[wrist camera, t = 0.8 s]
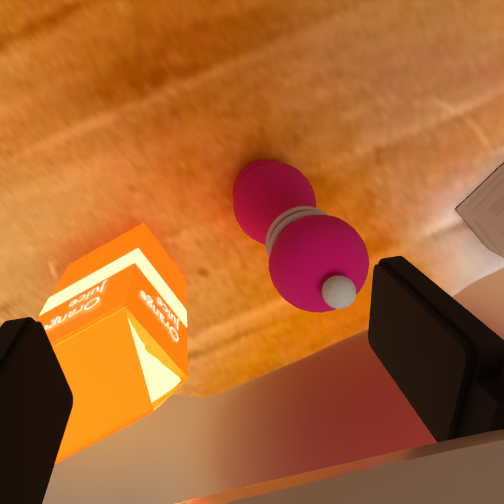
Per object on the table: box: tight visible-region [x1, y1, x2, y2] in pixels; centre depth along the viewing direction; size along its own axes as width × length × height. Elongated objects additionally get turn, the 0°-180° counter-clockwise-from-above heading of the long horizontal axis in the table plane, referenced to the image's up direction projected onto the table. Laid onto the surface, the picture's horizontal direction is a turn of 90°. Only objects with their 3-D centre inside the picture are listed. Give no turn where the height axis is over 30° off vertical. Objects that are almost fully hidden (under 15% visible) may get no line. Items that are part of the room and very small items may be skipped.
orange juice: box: [37, 223, 188, 464], centre depth 29 cm, size 8×9×20 cm
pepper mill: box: [233, 159, 369, 312], centre depth 27 cm, size 7×7×20 cm
